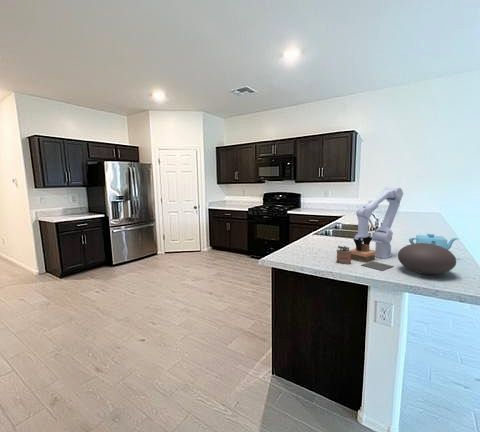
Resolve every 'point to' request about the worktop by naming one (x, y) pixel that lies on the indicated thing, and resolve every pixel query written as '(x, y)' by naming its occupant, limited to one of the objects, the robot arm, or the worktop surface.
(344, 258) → the ornate red tin
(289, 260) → the worktop surface
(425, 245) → the smooth stone
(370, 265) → the mat
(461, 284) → the worktop surface
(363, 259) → the box
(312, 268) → the worktop surface
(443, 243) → the teakettle
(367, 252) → the lid
